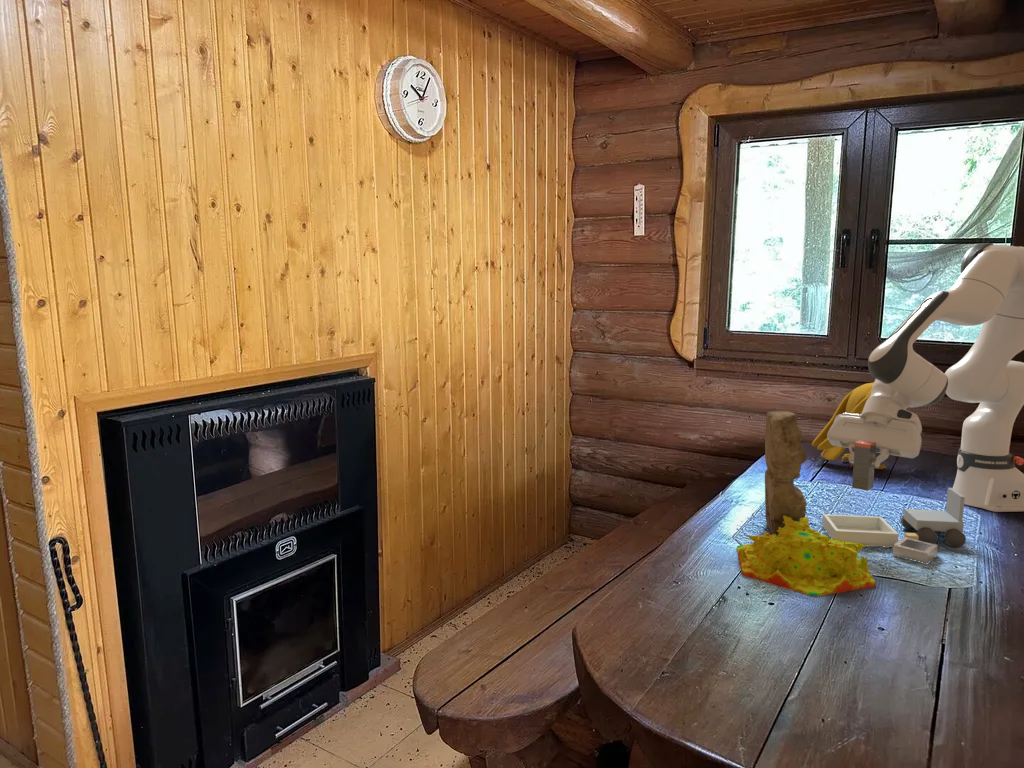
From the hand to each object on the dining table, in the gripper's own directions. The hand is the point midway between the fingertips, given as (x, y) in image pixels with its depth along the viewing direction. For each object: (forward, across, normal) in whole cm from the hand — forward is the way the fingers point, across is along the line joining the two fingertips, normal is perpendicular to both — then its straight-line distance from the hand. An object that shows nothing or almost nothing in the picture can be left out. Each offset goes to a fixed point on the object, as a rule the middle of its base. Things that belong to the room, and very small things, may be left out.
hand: (863, 464), depth 165 cm
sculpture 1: (+19, -15, +7) cm, 25 cm away
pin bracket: (+14, +13, +12) cm, 23 cm away
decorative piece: (+31, -2, -4) cm, 32 cm away
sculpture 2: (-34, -25, +59) cm, 73 cm away
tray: (+12, 0, +14) cm, 18 cm away
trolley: (+4, +12, +22) cm, 25 cm away
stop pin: (+4, 0, +4) cm, 6 cm away
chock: (+10, +10, +16) cm, 22 cm away
